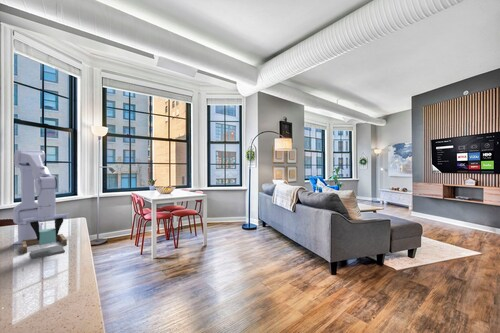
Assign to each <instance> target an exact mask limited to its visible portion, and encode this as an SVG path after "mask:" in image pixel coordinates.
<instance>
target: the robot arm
mask: <svg viewBox="0 0 500 333" xmlns="http://www.w3.org/2000/svg"><path fill="white" fill-rule="evenodd" d="M13 155H14V160H13V161H14V166H15V168H17V169H18V168H19V170H20V185H21V186H20V189H21V195H20V196H21V197H20V198H21V202H20V203H19V204H17V205H15V206H14V207H13V209H12V210H13V212H12V221H13V224H15V225H16V224H17V241H14V242H13V243H12V244H13V245H22V241H23V240H29V239H35V238H37V240H40V236H39V230H43V224H41V223H43V222H47V221H54V228H55V230H56V237H58V235H59V231H60V229H61V227H62V225H63V222H64V219H70V213H69V212H66V213H58V214H57V211H56V210H57V209H56V207H57V206H56V201H57V199H56V197H57V196H56V190H57V189H58V185H59V184H58V183H59V182H58V178H57V176H56V175H54V174H53V175H52V172H50V169H49V168H48V167H47V166H46V165H45V166H44V163H45V160H46V153H45V151H44V150H42V149H40V150H37V149H19V148H18V149H16V150H15V151H14V154H13ZM35 194H36V196H37V199H36V200H37V202H36V201H35V198H36V197H35Z"/></svg>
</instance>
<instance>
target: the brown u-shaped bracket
mask: <svg viewBox="0 0 500 333" xmlns="http://www.w3.org/2000/svg"><path fill="white" fill-rule="evenodd" d="M56 240H57V241H60V243H61V245H63V246H67V245H68V239H67V238H66V237H65V236H64V235H63V234H62V233H58V237H56ZM33 245H34V246H35V245H40V244H39V240H37V238H35V239H29V240H23V241H22V244H21V248H22V254H27V253H28V247H29V246H33ZM63 246H62V247H63Z"/></svg>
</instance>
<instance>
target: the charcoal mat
mask: <svg viewBox="0 0 500 333" xmlns="http://www.w3.org/2000/svg"><path fill="white" fill-rule="evenodd" d="M65 252H66V250H65V249H64V247H63V246H62V244H58V245H54V246H49V247H44V248H37V249H32V250H30V255H31V260H34V259H39V258H40V259H41V258H44V257H48V256H53V255H57V254H62V253H65Z"/></svg>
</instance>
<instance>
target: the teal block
mask: <svg viewBox="0 0 500 333" xmlns="http://www.w3.org/2000/svg"><path fill="white" fill-rule="evenodd" d="M39 236H40V240H39V244H38V245H40V246H42V245H48V244H52V243H53V244H54V243H57V241H56V230H55V227H53V228H52V227H51V228H46V229H42V230H39Z"/></svg>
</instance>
